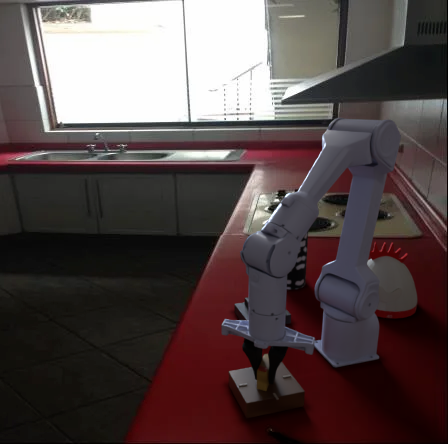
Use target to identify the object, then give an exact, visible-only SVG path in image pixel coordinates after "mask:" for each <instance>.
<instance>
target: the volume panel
mask: <svg viewBox="0 0 448 444" xmlns="http://www.w3.org/2000/svg"><path fill="white" fill-rule="evenodd" d="M228 387H229V389H230V391H231V392H232V394H233V396H234V399H235V400H236V402H237V404H238V405H239V407H240V409H241V411H242V413H243V415H244V416H245V418H246V419H250V418H255V417H260V416H265V415H270V414H275V413H279V412H284V411H288V410H293V409H298V408H302V407H304V406H305V394H306V391H305V390H304V388H303V387H302V385H301V384H300V383H299V382H298V381H297V379H296V378H295V376H294V375H293V374H292V373H291V372H290V370H289V369H288V368H287V367H286V365H285V364H284V362H283V361H282V362H281V363H280V365H279V366H278V368H277V371H276V376H275V380H274V382H273V384H269V385H268V388H267V391H263V390H260V389H257V380H255V375H254V372H253V368H252V366H250V367H245V368H240V369H234V370H229V371H228Z"/></svg>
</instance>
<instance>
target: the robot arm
mask: <svg viewBox="0 0 448 444" xmlns="http://www.w3.org/2000/svg"><path fill="white" fill-rule="evenodd" d="M401 139H402V134H401V132H400V130H399V128H398V126H397V124H396V122H395V121H394V120H393V119H357V118H345V117H336V118H335V119H333V120H332V121H331V122H330V123H329V125H328V126H327V128H326V131H325V132H324V133H323V134H322V137H321V146H322V149H321V151H320V153H319V155H318V157H317V158H316V159H315V161H314V163H313V165H312V167H311V168H310V169H309V171H308V173H307V175H306V177H305V178H304V180H303V182H302V183H301V185H300V186H299V189H298V190H297V191H294V192H290V193H287V194H286V195H285V196H284V197H283V198H282V200H281V201H280V203H279V204H278V206H276V207H277V208H276V207H275V208H276V210H275V211H274V210H273V213H272V214H271V215H270V217H269V218H268V219H267V221H266V222H265V224H264V225H263V227H262V228H261V230H258V231H255V232H253V233H251V234H250V235H248V236H247V237H246V239H245V240H244V242H243V246H242V249H241V250H240V251H239V256H240V259H241V262H242V263H243V264H244V265H245V274H247V276H248V297H249V302H248V306H249V311H248V320H240V319H239V320H237V319H227V318H224V320H223V322H222V323H221V324H220V325H221V336H229V335H233V336H237V337H242V338H243V343H242V345H241V348H242V352H243V353H244V354H245V355H246V357H247V359H248V361H249V363H250V365H251V366H250V367H252V368H253V372H254V375H255V380H257V370H258V368H259V365H260V363H261V361H262V358H263V352H264V351H263V350H266V349H268V348H269V350H268V353H267V354H268V358H269V377H268V382H269V384H273V382H274V380H275V376H276V371H277V368H278V366H279V365H280V363H281V362H282V363H283V361H284V359H285V357H286V355H287V352H288V350H289V348H291V349H295V350H299V351H304V353H305V354H307V355H311V356H312V355H313V354H314V350H317V351H318V352H319V353H320V355H321V356H322V357H323V358H324V359H325V360H326V361H327V362H328V363H329V364H330V365H331V366H332V367H333V368H340V367H345V366H349V365H351V366H352V365H357V364H361V363H365V362H371V361H376V360H379V359H380V356H379V355H378V354H377V350H378V343H379V335H380V322H379V318H378V316H376V314H375V311H376V309H377V307H378V304H379V283H380V280H379V279H378V277H377V276H376V275H375V274H374V273H373V272H372V270H371V269H370V268H369V267H368V265H367V262H368V260H369V258H370V254H369V253H370V250H371V248H372V244H373V240H374V235H375V231H376V227H377V221H378V216H379V212H380V208H381V203H382V199H383V195H384V190H385V185H386V180H387V177H388V174H389V173H391V172H394V170H395V165H396V162H397V158H398V153H399V150H400V149H399V148H400V144H401ZM347 169H348V170H349V172H350V174H351V175H352V179H351V183H350V189H349V195H348V199H347V203H346V208H345V214H344V218H343V222H342V227H341V234H340V237H339V242H338V243H339V244H338V246H337V252H336V257H335V260H333V261H330V262H328V263H326V264H324V265H322V267H321V272H320V275H319V277H318V278H317V280H316V283H315V285H314V296H315V299H316V300H317V301H318V302H320V306H319V307H320V308H321V309H322V310H323V313H322V325H321V338H320V339H318V340H316V338H315V336H311V335H307V334H305V333H301V332H299V331H297V330H294V329H292V328H290V327H287V326H286V324H285V316H286V310H287V291H288V289H287V274H288V273H289V272H290V271H291V270H292V269H293V268H294V266H295V264H296V261H297V256H298V252H299V250H300V246H301V244H300V241H301V240H302V238H303V237H304V236H305V234H306V233H307V231H308V232H309V230H310V229H311V227H312V225H313V224H314V223H315V222H316V220H317V219H318V217H319V215H320V209H319V206H318V205H319V204H318V203H319V202H321V200H322V199H323V198H324V196H325V195H326V194H327V192H328V191H329V190H330V189H331V188H332V187H333V185H335V183H336V182H337V181H338V179H339V178H340V177H341V175H343V174H344V172H345V171H346V170H347Z"/></svg>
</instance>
